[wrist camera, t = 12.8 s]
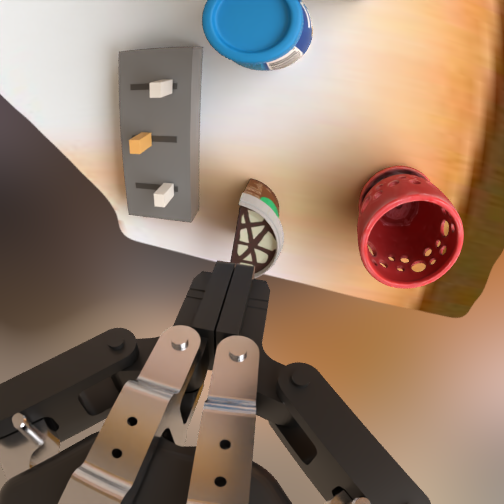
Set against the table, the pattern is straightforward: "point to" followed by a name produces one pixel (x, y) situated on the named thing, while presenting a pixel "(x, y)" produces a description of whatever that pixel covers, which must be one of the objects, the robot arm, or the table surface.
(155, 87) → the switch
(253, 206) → the food container
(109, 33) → the table surface
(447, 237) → the plant pot
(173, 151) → the breaker block
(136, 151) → the switch mid
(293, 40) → the beverage bottle
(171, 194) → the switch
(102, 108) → the table surface
